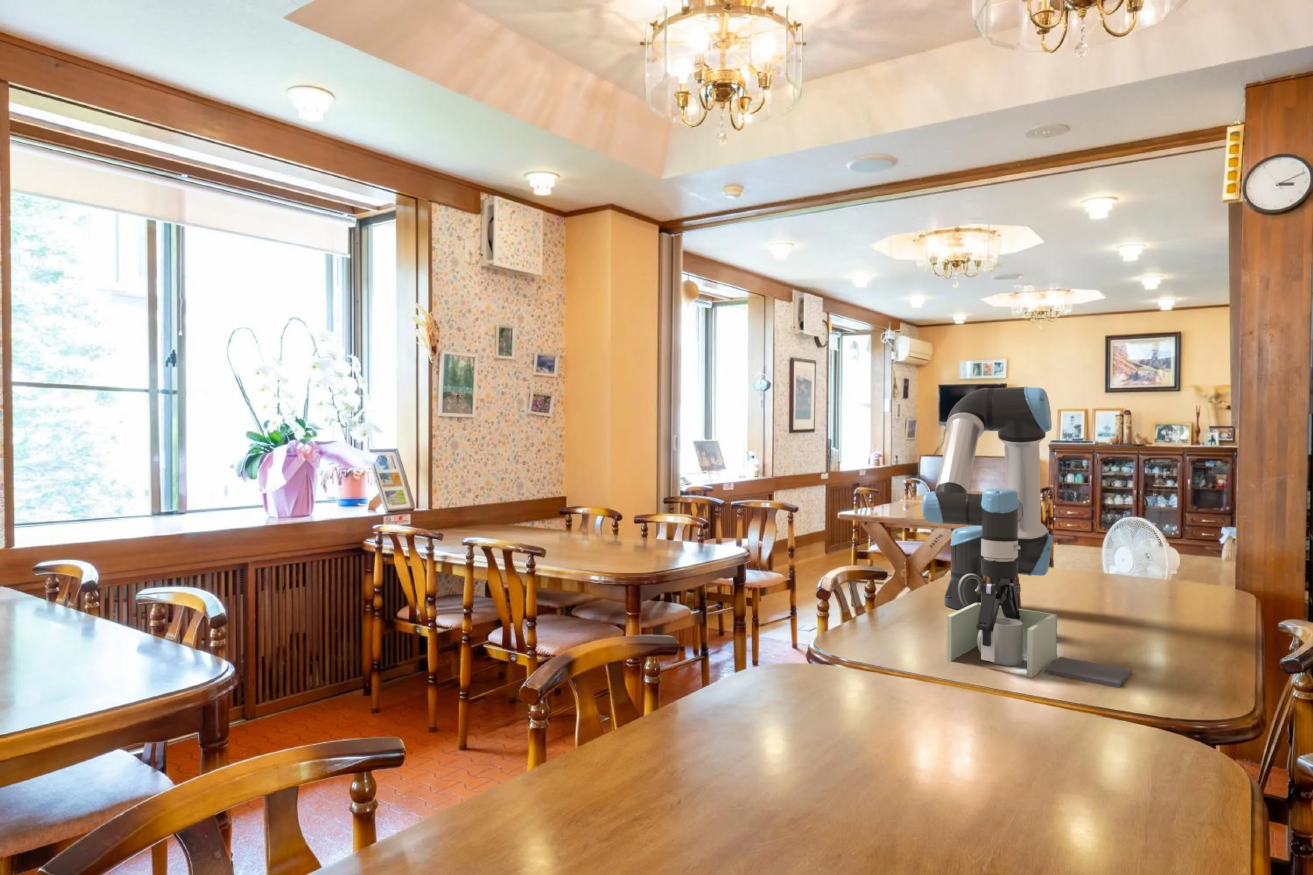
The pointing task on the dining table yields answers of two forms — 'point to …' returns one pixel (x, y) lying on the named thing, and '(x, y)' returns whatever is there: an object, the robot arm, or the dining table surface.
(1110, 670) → the mat
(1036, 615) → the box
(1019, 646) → the cup
